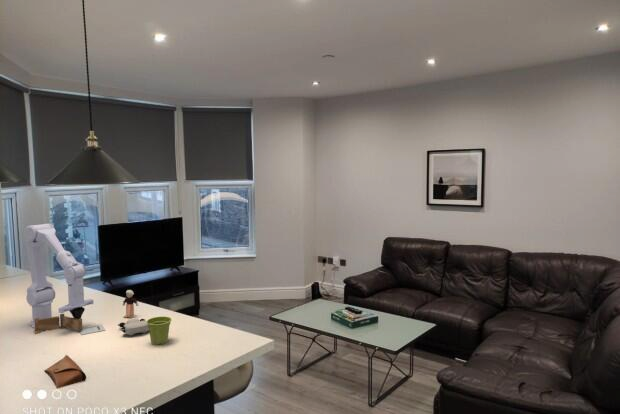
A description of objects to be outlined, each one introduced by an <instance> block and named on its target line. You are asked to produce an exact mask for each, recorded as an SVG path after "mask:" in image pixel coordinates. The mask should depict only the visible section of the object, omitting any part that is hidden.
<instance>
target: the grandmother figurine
mask: <svg viewBox="0 0 620 414" xmlns="http://www.w3.org/2000/svg"><path fill="white" fill-rule="evenodd" d="M125 294H126V297H125V299H124V300H123V301H122V306H123V307H124V306H125V315H124V317H123V318H125V319H127V318H129V319H134V318H135V306H136V307H137V306H139V303H138V300H136V298H134V297H133V295H135V293H134V291H133V290H132V289H127V290H126V292H125ZM134 304H135V306H134Z"/></svg>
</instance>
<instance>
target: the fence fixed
mask: <svg viewBox="0 0 620 414" xmlns="http://www.w3.org/2000/svg"><path fill="white" fill-rule="evenodd" d="M66 328H67V327H63V326H61V325H60V315H59V316H52V317H51V318H45V319H39V318H36V319H35V328H33V330H34V335H37V334H38V333H39V334H41V333H42V332H47V331H46V330H48V331H52V330H53V329H54V330H58V329H59V330H62V329H66ZM41 331H42V332H41Z"/></svg>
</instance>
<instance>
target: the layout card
mask: <svg viewBox="0 0 620 414" xmlns="http://www.w3.org/2000/svg"><path fill="white" fill-rule="evenodd" d="M82 328H83V330H82V331H79V332H80V335H81V336H83V335H89V334H95V333H100V332H106V329H105V327H104V325H103V324H102V323H100V324H93V325H87V326H84V327H83V326H82Z"/></svg>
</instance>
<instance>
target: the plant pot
mask: <svg viewBox="0 0 620 414" xmlns="http://www.w3.org/2000/svg"><path fill="white" fill-rule="evenodd" d="M145 321H146V323H147V324H148V327H149V330H148V331H149V332H148V333H149V337H150V343H151V344H152V345H159V344H160V345H161V344H162V345H163V344H164V345H165V344H166V343H167V342H168V341H169V332H170V325H171V322H172V317H170V316H165V315H164V316H163V315H162V316H160V315H159V316H155V317H150V318H148V319H147V320H145Z"/></svg>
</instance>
